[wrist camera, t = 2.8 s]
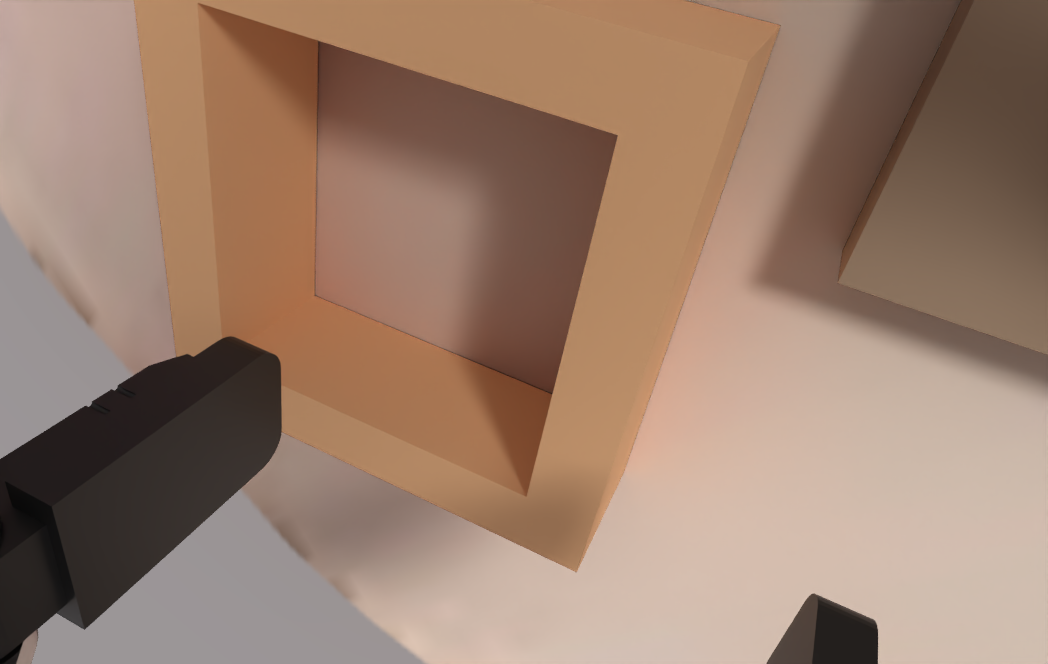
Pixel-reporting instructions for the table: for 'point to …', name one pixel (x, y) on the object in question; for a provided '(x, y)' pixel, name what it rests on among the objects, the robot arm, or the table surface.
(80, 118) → the table surface
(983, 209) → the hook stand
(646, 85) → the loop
